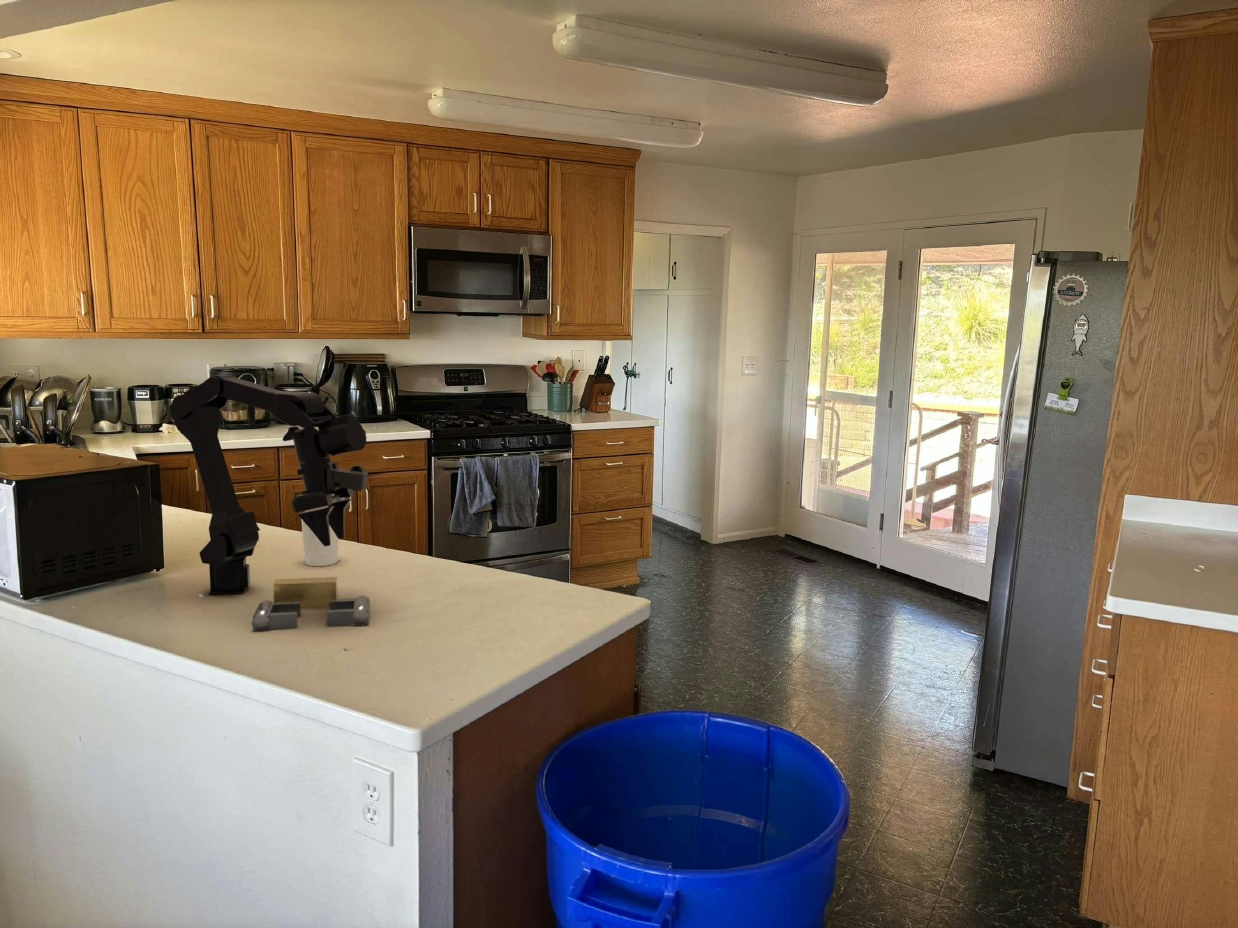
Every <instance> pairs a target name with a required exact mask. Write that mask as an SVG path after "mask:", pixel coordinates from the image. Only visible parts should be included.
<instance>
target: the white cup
mask: <svg viewBox="0 0 1238 928" xmlns="http://www.w3.org/2000/svg"><path fill="white" fill-rule="evenodd" d="M300 519H301V518H300ZM329 528H330V541H331V545H330V546H326V547H325V546H324V545H323V544H322V543H321V542H320V540H319V539H318V538H317V537H316V535H315V534H314V533H313V532H312V531H311V529H310V528H309V527H308V526H307V525H306V524H305V522H304V521H303V520H302V519H301V531H302V533H301V534H302V543H303V545H302V547H303V552H304V560H305V561H304V562H305V565H308V566H310V567H327V566H332V565H335V564H336V563H338V558H339V557H338V556H339V555H338V550H339V543H340V542H339V541H340V539H338V538H337V536H336V534H335V533H334V531H333V530H332V528H331V526H330V525H329Z"/></svg>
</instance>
